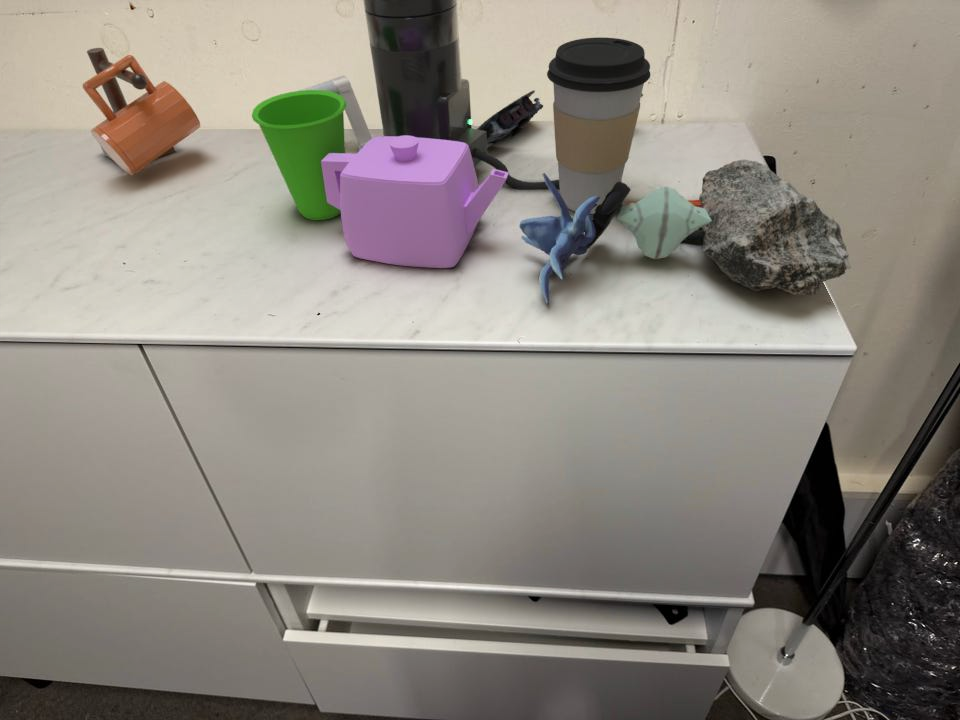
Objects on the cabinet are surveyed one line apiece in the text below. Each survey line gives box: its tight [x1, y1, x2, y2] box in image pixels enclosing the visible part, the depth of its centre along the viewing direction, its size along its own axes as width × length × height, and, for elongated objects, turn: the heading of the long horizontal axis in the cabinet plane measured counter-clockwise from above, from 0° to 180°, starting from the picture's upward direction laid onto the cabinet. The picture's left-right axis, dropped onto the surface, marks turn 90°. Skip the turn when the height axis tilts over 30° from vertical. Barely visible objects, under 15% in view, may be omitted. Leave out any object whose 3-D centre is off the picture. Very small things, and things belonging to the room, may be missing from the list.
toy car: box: [476, 89, 544, 148], centre depth 78 cm, size 8×12×3 cm
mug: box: [82, 54, 201, 176], centre depth 71 cm, size 10×6×10 cm
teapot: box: [321, 135, 510, 269], centre depth 58 cm, size 18×10×10 cm, turn 75°
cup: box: [251, 90, 346, 221], centre depth 64 cm, size 9×9×11 cm
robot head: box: [616, 186, 712, 260], centre depth 55 cm, size 8×4×7 cm, turn 82°
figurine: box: [518, 172, 632, 305], centre depth 54 cm, size 10×12×8 cm
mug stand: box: [86, 47, 176, 163], centre depth 74 cm, size 14×6×12 cm, turn 47°
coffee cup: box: [546, 36, 651, 215], centre depth 61 cm, size 9×9×15 cm
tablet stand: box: [298, 75, 373, 154], centre depth 73 cm, size 9×8×8 cm
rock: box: [698, 159, 852, 296], centre depth 55 cm, size 18×10×10 cm
